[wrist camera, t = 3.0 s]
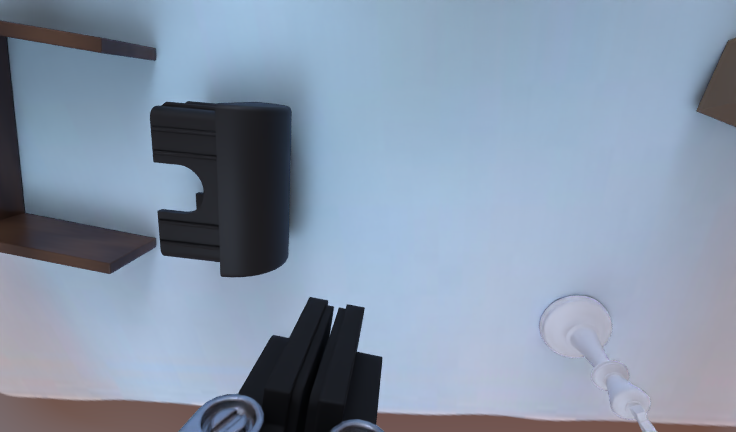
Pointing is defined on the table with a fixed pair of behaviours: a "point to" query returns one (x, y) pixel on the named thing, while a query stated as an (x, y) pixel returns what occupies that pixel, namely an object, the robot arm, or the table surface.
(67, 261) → the wooden u-shaped shelf
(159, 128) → the end cap
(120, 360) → the table surface
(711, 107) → the photo frame
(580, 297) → the chess piece
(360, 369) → the robot arm
